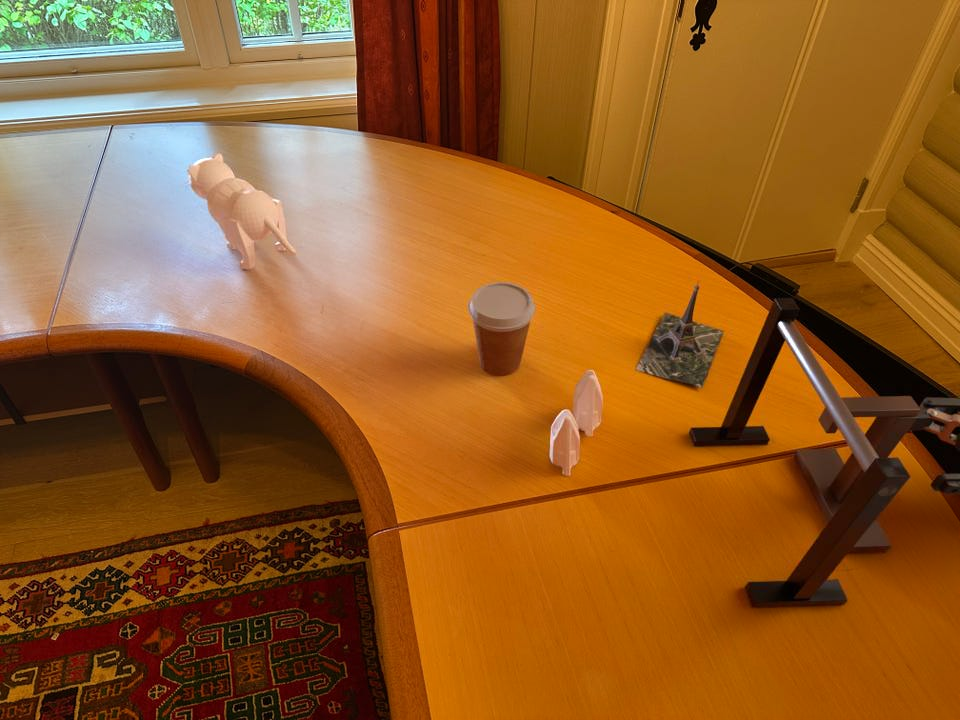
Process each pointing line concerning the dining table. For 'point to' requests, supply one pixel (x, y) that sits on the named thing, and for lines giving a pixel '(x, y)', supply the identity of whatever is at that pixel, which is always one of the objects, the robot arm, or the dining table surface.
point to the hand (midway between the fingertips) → (913, 451)
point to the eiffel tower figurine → (681, 348)
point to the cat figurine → (238, 208)
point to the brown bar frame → (837, 478)
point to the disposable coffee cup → (501, 325)
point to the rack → (880, 473)
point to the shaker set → (576, 422)
